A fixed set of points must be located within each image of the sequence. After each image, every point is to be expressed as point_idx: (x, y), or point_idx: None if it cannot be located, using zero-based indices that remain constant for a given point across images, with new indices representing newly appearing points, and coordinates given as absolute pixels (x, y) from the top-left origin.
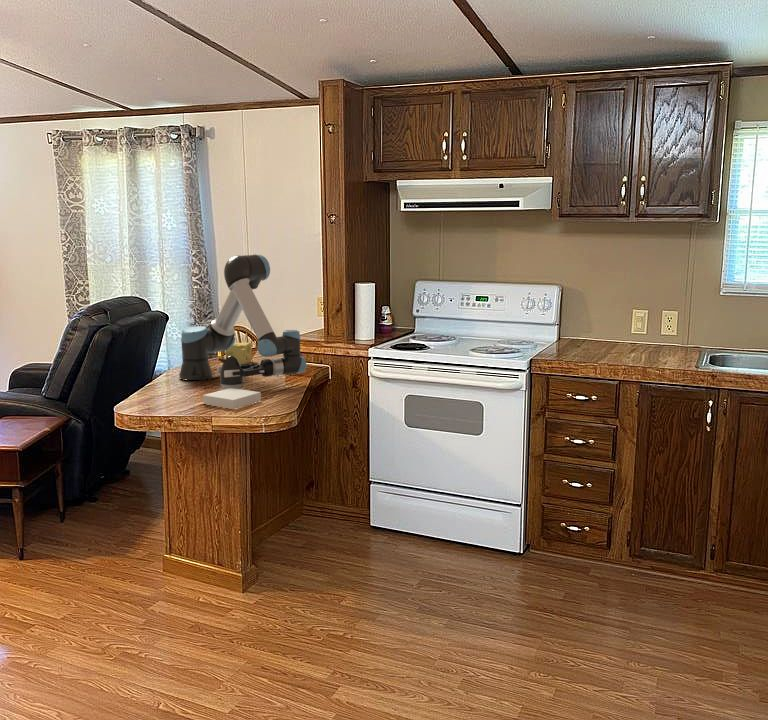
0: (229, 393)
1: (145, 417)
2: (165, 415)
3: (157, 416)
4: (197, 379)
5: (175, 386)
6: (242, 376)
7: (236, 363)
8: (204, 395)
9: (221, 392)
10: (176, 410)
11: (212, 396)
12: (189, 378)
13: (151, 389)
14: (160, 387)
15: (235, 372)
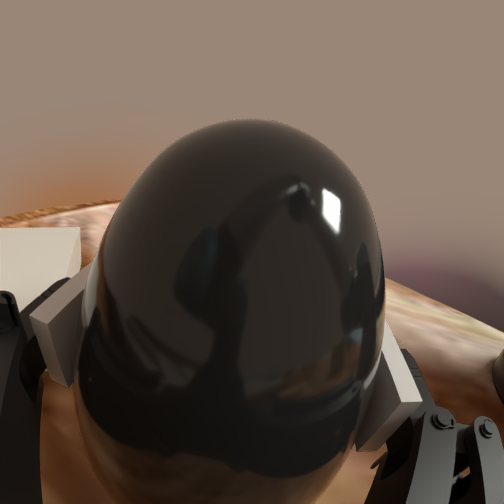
0: (1, 261)
1: (116, 199)
2: (94, 208)
3: (102, 203)
4: (501, 386)
5: (424, 328)
6: (93, 465)
7: (98, 247)
8: (73, 227)
9: (40, 259)
10: (104, 223)
11: (38, 228)
12: (498, 364)
13: (389, 285)
14: (412, 303)
15: (48, 289)
